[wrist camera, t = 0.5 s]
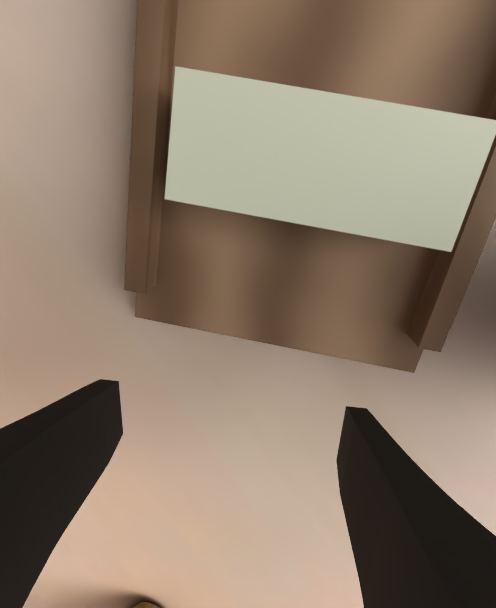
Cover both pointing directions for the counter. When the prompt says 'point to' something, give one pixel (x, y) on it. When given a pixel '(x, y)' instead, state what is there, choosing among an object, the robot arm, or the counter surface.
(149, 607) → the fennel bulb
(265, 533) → the counter surface
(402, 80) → the track
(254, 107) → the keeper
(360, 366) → the counter surface
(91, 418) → the robot arm
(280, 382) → the counter surface
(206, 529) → the counter surface
